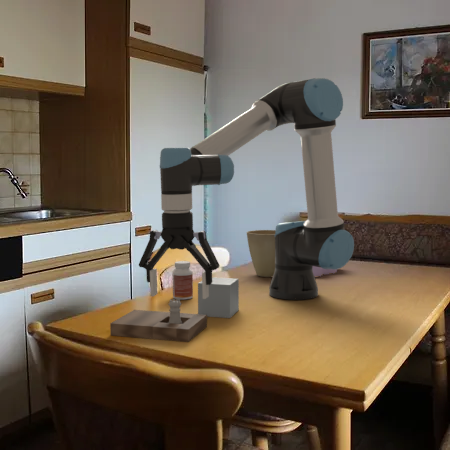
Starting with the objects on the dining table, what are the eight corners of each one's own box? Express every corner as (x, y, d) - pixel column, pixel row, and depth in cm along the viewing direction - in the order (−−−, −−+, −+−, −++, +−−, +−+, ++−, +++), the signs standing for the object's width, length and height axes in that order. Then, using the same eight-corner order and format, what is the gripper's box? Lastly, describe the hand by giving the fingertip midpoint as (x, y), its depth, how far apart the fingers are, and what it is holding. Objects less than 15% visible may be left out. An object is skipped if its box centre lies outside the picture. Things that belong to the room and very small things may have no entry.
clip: (323, 278, 222) (323, 259, 221) (291, 275, 228) (291, 256, 227) (342, 270, 239) (343, 252, 238) (312, 267, 245) (312, 249, 244)
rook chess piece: (166, 329, 156) (165, 298, 155) (184, 329, 156) (183, 298, 155) (166, 334, 151) (165, 302, 150) (184, 334, 152) (184, 302, 151)
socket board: (206, 326, 159) (206, 314, 158) (188, 341, 145) (188, 329, 145) (134, 320, 164) (134, 309, 164) (110, 335, 151) (110, 323, 151)
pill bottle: (196, 298, 190) (196, 262, 189) (179, 301, 187) (178, 264, 186) (186, 294, 195) (186, 259, 194) (169, 297, 192) (168, 261, 191)
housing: (238, 310, 175) (238, 278, 174) (230, 318, 167) (229, 285, 166) (208, 308, 178) (207, 277, 177) (198, 315, 169) (197, 283, 168)
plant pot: (295, 275, 227) (296, 231, 226) (268, 280, 217) (268, 235, 215) (265, 269, 238) (265, 228, 236) (238, 275, 228) (238, 231, 226)
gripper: (230, 210, 152) (232, 295, 155) (136, 209, 159) (139, 290, 161) (222, 213, 145) (223, 302, 148) (123, 212, 152) (126, 297, 154)
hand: (179, 296), depth 155 cm, fingers open, 13 cm apart
